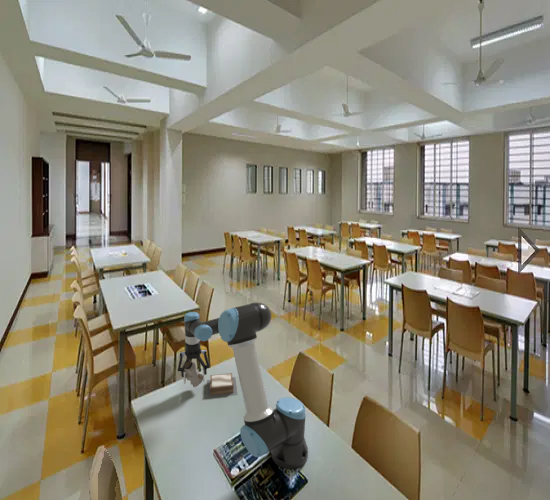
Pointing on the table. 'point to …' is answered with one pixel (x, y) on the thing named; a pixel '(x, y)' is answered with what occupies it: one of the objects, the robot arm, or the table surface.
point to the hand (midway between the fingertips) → (194, 381)
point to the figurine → (192, 373)
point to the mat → (222, 394)
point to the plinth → (221, 384)
